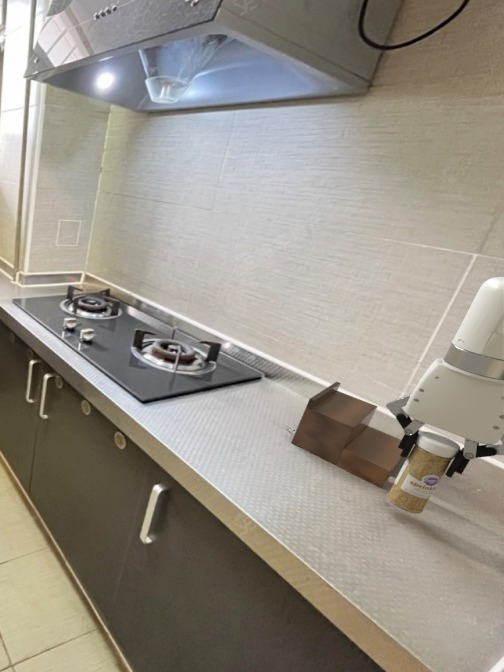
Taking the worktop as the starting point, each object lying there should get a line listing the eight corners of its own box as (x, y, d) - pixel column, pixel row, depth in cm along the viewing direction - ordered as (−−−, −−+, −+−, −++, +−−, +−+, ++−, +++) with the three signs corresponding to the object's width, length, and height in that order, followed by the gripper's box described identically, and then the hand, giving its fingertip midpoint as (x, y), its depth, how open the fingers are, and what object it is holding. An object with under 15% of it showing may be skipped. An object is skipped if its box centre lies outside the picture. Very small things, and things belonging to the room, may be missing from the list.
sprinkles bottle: (404, 514, 64) (442, 448, 59) (378, 493, 68) (412, 429, 63) (430, 515, 64) (470, 448, 59) (403, 494, 69) (438, 430, 64)
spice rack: (402, 459, 82) (427, 415, 78) (380, 487, 73) (407, 439, 69) (318, 421, 93) (336, 381, 89) (290, 442, 84) (309, 398, 80)
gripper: (581, 382, 52) (509, 488, 59) (410, 338, 65) (367, 429, 72) (580, 396, 48) (503, 508, 55) (398, 346, 61) (353, 442, 68)
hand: (426, 462), depth 63 cm, fingers closed on sprinkles bottle, 4 cm apart
